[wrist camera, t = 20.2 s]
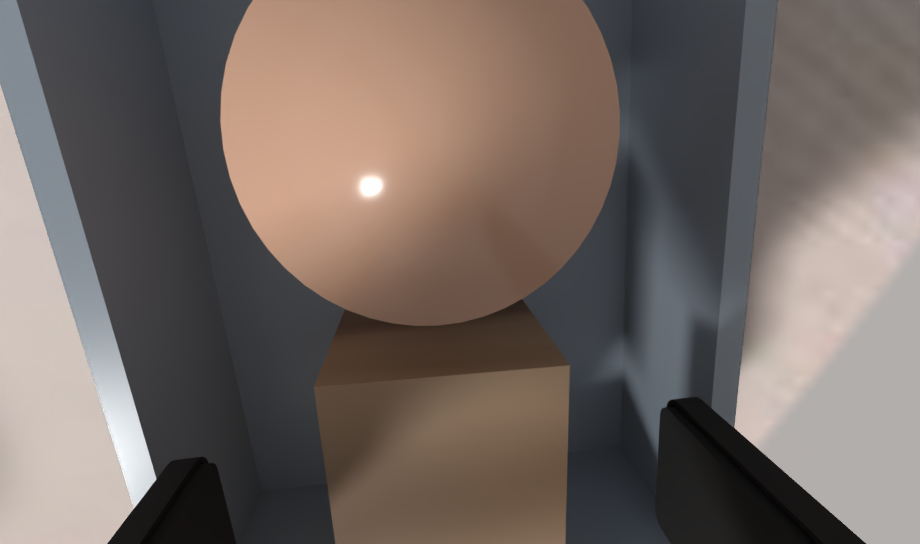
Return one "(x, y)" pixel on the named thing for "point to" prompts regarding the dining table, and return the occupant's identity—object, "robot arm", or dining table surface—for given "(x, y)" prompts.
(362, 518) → the walnut cube
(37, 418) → the dining table surface
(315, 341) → the tote
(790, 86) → the dining table surface
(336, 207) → the tan rounded smooth part
